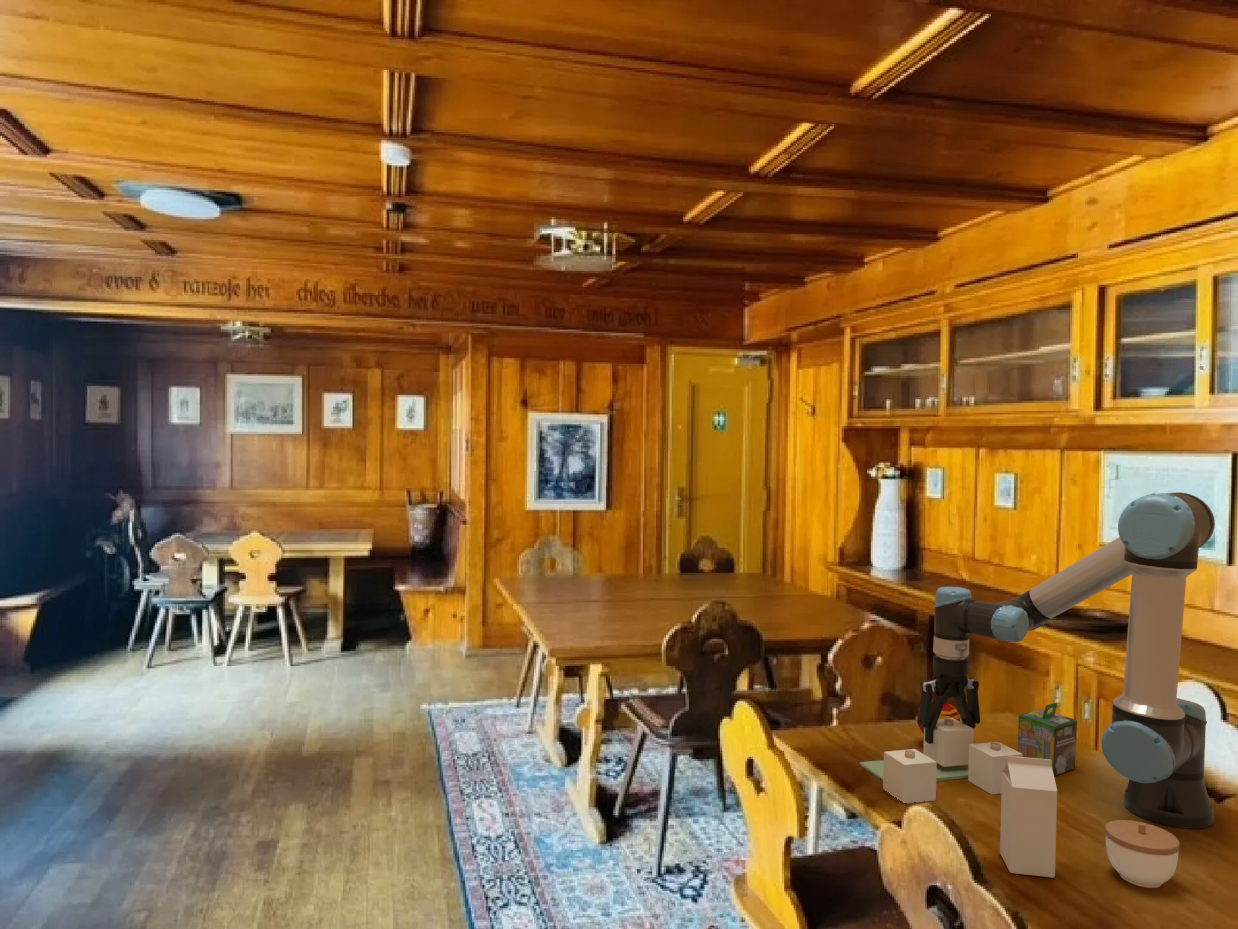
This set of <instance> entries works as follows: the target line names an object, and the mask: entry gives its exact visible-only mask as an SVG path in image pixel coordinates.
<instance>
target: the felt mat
mask: <svg viewBox="0 0 1238 929" xmlns="http://www.w3.org/2000/svg"><path fill="white" fill-rule="evenodd" d="M859 766H860V767H862V768H864V770H866V771H867V772H868V773H870V774H872V775H873V776H874V777H876V778H877V779H878V780H880V779H881V780H880V781H881V782H883V773H884V759H881V760H871V761H869V760H867V761H860V762H859ZM968 768H969V765H959V766H947V767H943V766H941V765H940V764H938V763H937V770H936V782H941V781H951V780H961V779H968Z"/></svg>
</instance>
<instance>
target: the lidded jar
mask: <svg viewBox="0 0 1238 929" xmlns="http://www.w3.org/2000/svg"><path fill="white" fill-rule="evenodd" d="M1104 833H1105V848H1106V853H1107V858H1108V860H1109V861H1110V864H1111V865H1112V867H1113V868H1114V869H1115V871H1117V873H1118V874H1119V876H1120V878H1121V879H1122V880H1124V881H1125V882H1127V883H1130V884H1131V885H1135V886H1137V887H1141V888H1146V889H1157V888H1160V887H1161V886H1162V884H1165V883H1167V882H1168V881H1169V880H1171V878H1173V875H1174V874H1175V873H1176V871H1177V870H1176V869H1177V866H1178V861H1179V851H1180V848H1181V847H1180V846H1181V845H1180V840H1179V839H1178V838H1177V836H1175V835H1174V834H1173V833H1171V832H1169V831H1167V830H1166V829H1163V828H1162V827H1158V826H1156V825H1153V824H1149V823H1146V822H1142V821H1135V820H1129V819H1128V820H1127V819H1115V820H1111V821H1109V822H1107V823H1106V824H1105V825H1104Z"/></svg>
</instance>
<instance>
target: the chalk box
mask: <svg viewBox="0 0 1238 929" xmlns="http://www.w3.org/2000/svg"><path fill="white" fill-rule="evenodd" d="M1057 707H1058V702H1054V703H1053V702H1052V703H1050V704H1047V705H1046V706H1045V708H1044V709H1042V708H1038V709H1035V710H1031V711H1028V712H1025V713H1023V714H1019V716H1018V731H1017V732H1018V733H1017V751H1018V752H1020V753H1022V754H1023V757H1026V758H1038V759H1050V760H1052V770H1053V774H1054V777H1055V776H1058V775H1061V774H1064V773H1068V772H1070V771H1073V770H1075V769H1076V756H1077V755H1076V754H1077V734H1078V733H1077V732H1078V731H1077V730H1078V719H1075V718H1073V717H1072V718H1071V717H1069V716H1065V715H1062V714H1058V713H1056V710H1057ZM1051 709H1052V710H1051ZM1050 710H1051V711H1050Z"/></svg>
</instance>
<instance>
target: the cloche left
mask: <svg viewBox="0 0 1238 929" xmlns="http://www.w3.org/2000/svg"><path fill="white" fill-rule="evenodd" d="M883 760H884V773H883V781H882V789H883V791H885V792H886V791H887V792H886V793H888V792H889V793H890V794H889V793H888V794H889V795H890V796H892V797H893V796H894V798H895V797H896V798H897V799H896V798H895V799H896V800H898V799H899V800H900V801H902V802H903V803H907V804H914V802H916V803H915V804H917V803H924V801H925V802H935V801H937V800H936V799H937V781H936V770H937V762H936V761H934V760H933V759H931V758H929V757H927V756H926V755H924V754H923V752H921V751H919V750H918V749H916V748H912V749H910V748H909V749H900V750H899V749H898V750H890V751H883ZM899 800H898V801H899ZM900 801H899V802H900ZM902 802H901V803H902ZM903 803H902V804H903Z"/></svg>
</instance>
